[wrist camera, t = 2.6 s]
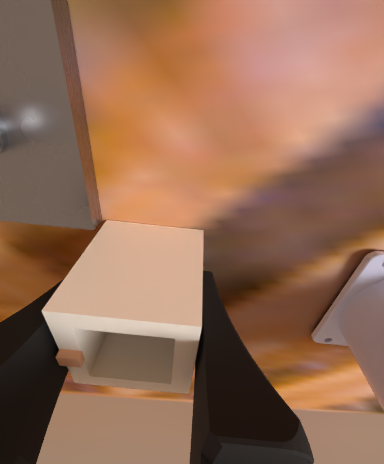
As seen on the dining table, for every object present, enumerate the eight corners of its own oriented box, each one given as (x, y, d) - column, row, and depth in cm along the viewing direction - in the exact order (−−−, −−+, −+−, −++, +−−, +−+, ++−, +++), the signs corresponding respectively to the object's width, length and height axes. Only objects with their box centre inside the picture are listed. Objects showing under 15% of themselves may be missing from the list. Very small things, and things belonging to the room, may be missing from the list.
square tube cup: (203, 230, 12) (201, 335, 7) (194, 294, 14) (188, 402, 9) (106, 219, 11) (35, 319, 7) (116, 286, 14) (70, 390, 9)
